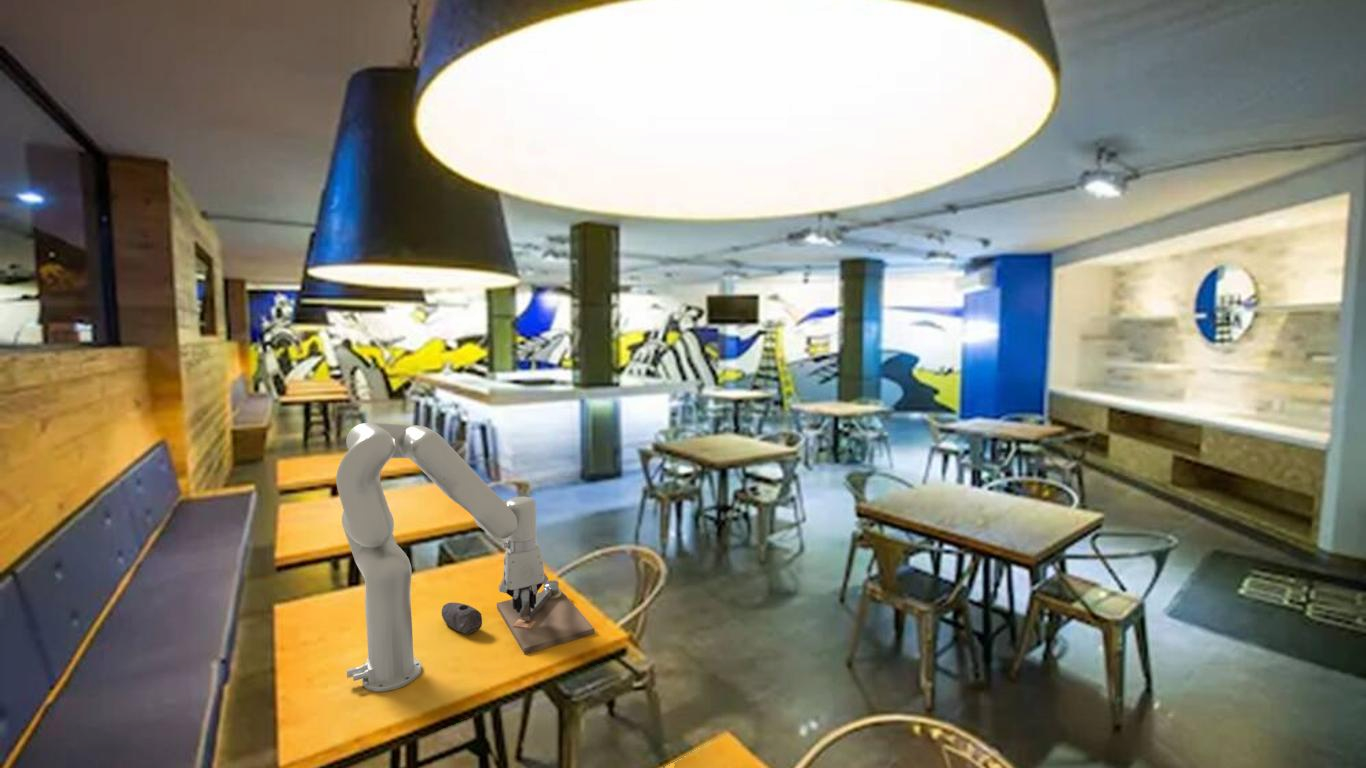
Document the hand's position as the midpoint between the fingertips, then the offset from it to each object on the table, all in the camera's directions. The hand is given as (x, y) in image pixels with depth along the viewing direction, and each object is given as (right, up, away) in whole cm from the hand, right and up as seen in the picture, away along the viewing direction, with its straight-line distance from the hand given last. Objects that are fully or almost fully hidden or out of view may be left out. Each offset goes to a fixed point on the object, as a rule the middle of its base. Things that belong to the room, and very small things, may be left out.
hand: (524, 608), depth 161 cm
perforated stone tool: (-18, -6, +2) cm, 20 cm away
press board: (+4, -6, +6) cm, 9 cm away
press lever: (+2, -3, +10) cm, 10 cm away
